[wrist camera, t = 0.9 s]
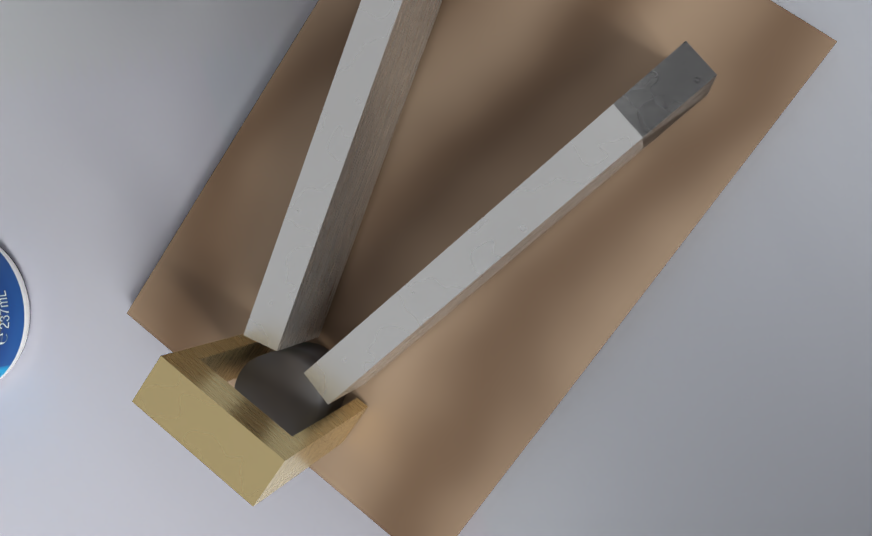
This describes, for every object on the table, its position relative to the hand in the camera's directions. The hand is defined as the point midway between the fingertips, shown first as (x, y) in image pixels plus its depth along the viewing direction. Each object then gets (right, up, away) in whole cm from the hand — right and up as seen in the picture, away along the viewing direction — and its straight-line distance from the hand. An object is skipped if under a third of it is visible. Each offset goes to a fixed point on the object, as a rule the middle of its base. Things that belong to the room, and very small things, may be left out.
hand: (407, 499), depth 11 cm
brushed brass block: (-5, -2, +23) cm, 24 cm away
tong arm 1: (+3, +5, +20) cm, 21 cm away
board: (+1, +6, +22) cm, 23 cm away
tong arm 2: (-2, +9, +22) cm, 23 cm away
